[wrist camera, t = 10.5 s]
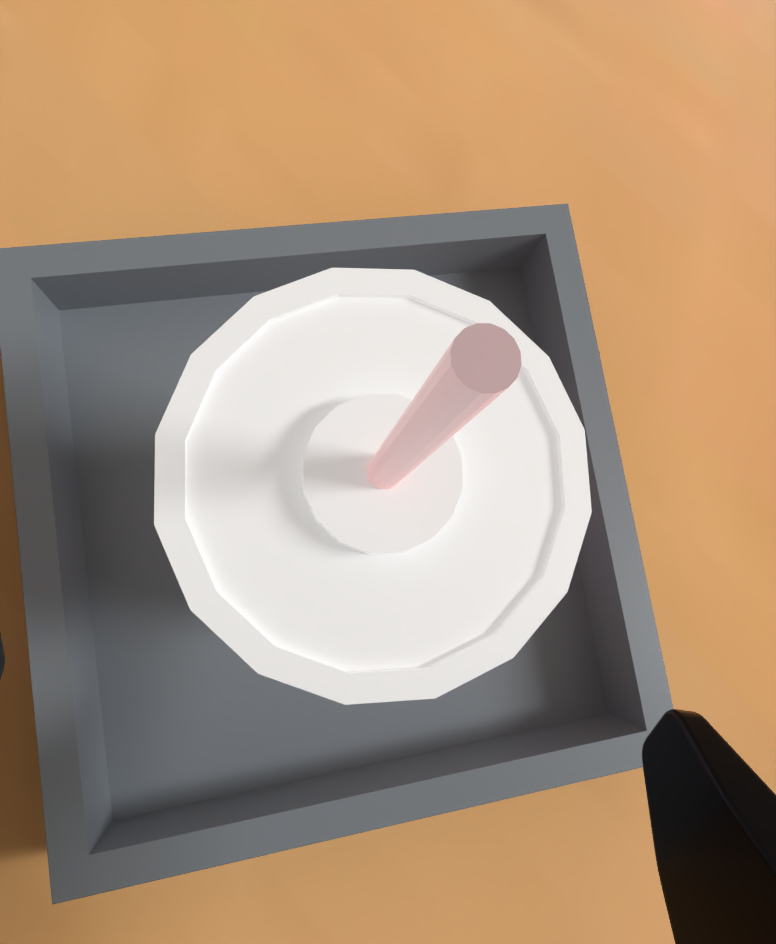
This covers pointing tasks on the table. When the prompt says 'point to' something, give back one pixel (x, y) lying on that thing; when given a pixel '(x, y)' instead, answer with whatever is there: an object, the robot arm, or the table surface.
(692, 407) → the table surface
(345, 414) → the beverage cup
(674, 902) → the robot arm
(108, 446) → the tray
